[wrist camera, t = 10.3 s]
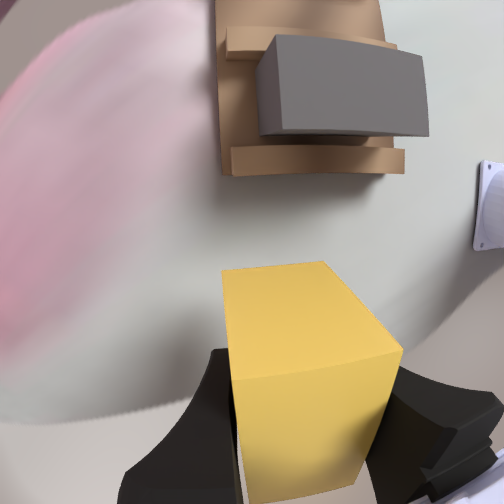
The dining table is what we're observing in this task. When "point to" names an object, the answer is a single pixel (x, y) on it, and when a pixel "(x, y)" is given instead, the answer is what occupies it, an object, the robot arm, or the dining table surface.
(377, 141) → the comb rack
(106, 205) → the dining table surface
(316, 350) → the ochre bar
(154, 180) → the dining table surface
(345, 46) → the charcoal bar
